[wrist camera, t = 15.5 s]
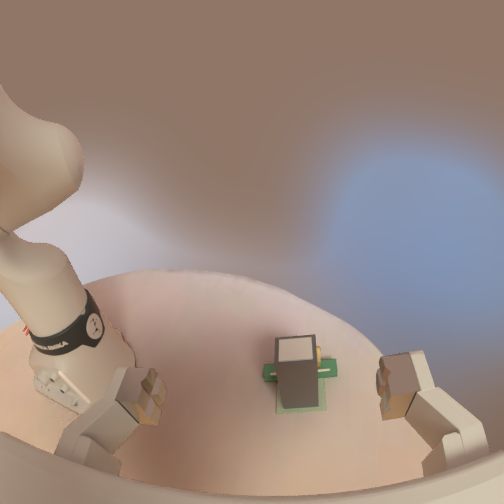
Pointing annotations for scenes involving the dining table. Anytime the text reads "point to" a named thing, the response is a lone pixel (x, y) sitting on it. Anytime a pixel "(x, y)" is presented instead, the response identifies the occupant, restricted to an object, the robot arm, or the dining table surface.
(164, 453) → the dining table surface
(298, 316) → the dining table surface
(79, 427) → the robot arm
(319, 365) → the header strip
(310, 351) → the block
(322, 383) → the pad
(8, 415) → the dining table surface
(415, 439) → the dining table surface
